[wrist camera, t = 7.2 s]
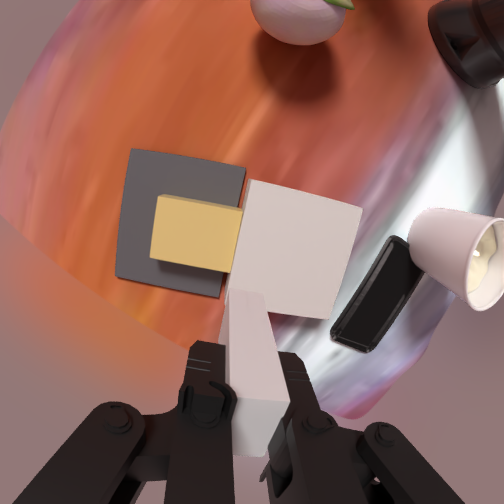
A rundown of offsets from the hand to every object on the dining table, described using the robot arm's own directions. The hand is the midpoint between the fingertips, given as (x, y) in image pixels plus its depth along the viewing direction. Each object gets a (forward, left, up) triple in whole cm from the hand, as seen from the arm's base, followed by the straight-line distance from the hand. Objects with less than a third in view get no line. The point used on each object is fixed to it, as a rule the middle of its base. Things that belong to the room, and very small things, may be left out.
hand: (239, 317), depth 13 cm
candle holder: (-25, -5, -18) cm, 31 cm away
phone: (-20, +4, -18) cm, 27 cm away
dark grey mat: (+6, 0, -18) cm, 19 cm away
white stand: (-6, 0, -18) cm, 19 cm away
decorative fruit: (-1, -24, -18) cm, 30 cm away
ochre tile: (+4, 0, -17) cm, 17 cm away
